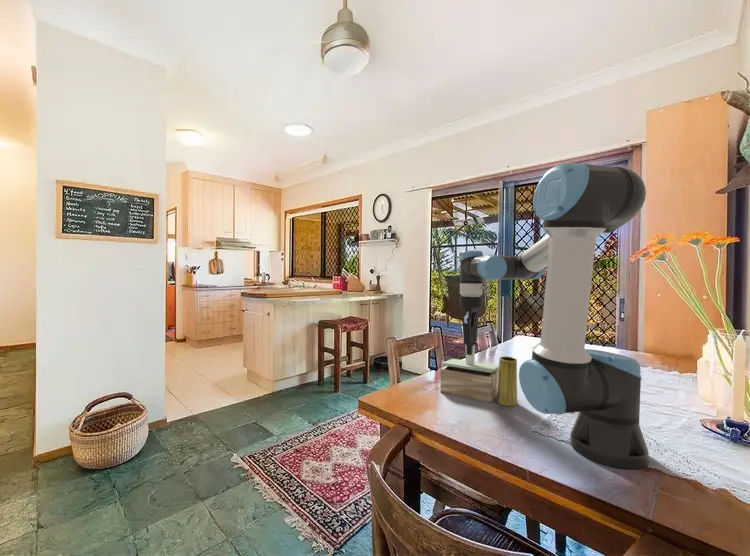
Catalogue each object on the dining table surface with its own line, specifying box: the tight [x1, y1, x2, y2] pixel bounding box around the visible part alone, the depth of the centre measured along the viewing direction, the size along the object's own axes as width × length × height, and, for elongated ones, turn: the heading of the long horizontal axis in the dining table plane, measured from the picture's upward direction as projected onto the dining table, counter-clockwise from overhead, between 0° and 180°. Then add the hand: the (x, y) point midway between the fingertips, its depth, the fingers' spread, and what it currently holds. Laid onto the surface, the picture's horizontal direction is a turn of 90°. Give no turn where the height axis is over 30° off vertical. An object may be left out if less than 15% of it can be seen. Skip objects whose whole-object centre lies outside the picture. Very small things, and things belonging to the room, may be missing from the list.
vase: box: [496, 356, 518, 407], centre depth 109 cm, size 6×6×14 cm
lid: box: [441, 358, 499, 373], centre depth 119 cm, size 12×17×1 cm
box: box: [439, 365, 499, 403], centre depth 119 cm, size 13×17×8 cm
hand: (470, 363), depth 118 cm, fingers closed
